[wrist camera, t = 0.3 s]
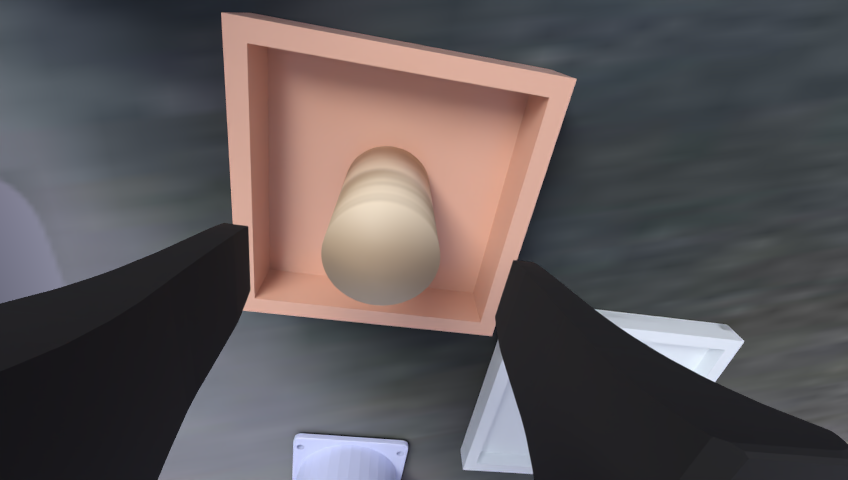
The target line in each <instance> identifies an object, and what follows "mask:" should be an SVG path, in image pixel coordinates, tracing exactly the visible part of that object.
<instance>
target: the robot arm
mask: <svg viewBox="0 0 848 480" xmlns="http://www.w3.org/2000/svg"><path fill="white" fill-rule="evenodd" d="M250 290H251V289H250V260H249V230H248V226H244V225H236V224H228V223H223V224H220V225H217V226H214V227H212V228H210V229H207V230H205V231H203V232H201V233H198V234H196V235H194V236H192V237H190V238H188V239H185V240H183V241H181V242H179V243H177V244H174V245H172V246H170V247H168V248H165V249H163V250H161V251H159V252H157V253H154V254H152V255H149V256H147V257H144V258H142V259H139V260H137V261H134V262H132V263H130V264H127V265H125V266H122V267H120V268H117V269H115V270H112V271H109V272H107V273H104V274H101V275H98V276H95V277H92V278H89V279H86V280H83V281H80V282H77V283H74V284H71V285H67V286H64V287H61V288H58V289H54V290H51V291H47V292H43V293H39V294H35V295H32V296H28V297H24V298H20V299H16V300H12V301H9V302H5V303H1V304H0V480H158V477H159V475H160V473H161V470H162V468H163V465H164V463H165V461H166V458H167V456H168V454H169V451H170V449H171V447H172V444H173V442H174V440H175V438H176V435H177V433H178V431H179V429H180V427H181V424H182V422H183V420H184V418H185V415H186V413H187V411H188V409H189V407H190V405H191V403H192V401H193V399H194V398H195V396H196V394H197V392H198V390H199V388H200V387H201V385H202V383H203V382H204V380H205V378H206V376H207V375H208V373H209V371H210V370H211V368H212V366H213V364H214V363H215V361H216V359H217V358H218V356H219V354H220V352H221V351H222V349H223V347H224V346H225V344H226V342H227V340H228V339H229V337H230V335H231V333H232V332H233V330H234V328H235V326H236V324H237V323H238V321H239V318H240V316H241V313H242V311H243V309H244V306H245V303H246V301H247V298H248V296H249V293H250ZM495 321H496V329H497V336H498V341H499V347H500V351H501V354H502V358H503V361H504V365H505V368H506V371H507V374H508V378H509V381H510V384H511V387H512V390H513V394H514V397H515V400H516V403H517V407H518V410H519V413H520V416H521V420H522V423H523V427H524V431H525V435H526V440H527V445H528V450H529V455H530V460H531V465H532V470H533V475H534V480H848V444H847V443H846V442H845V441H844V440H842V439H841V438H840V437H839V436H838V435H836V434H835V433H833V432H832V431H830V430H827V429H825V428H822V427H820V426H817V425H814V424H812V423H809V422H807V421H804V420H802V419H799V418H797V417H794V416H792V415H789V414H786V413H784V412H781V411H779V410H776V409H774V408H771V407H769V406H766V405H764V404H761V403H759V402H757V401H755V400H752V399H750V398H748V397H746V396H744V395H741V394H739V393H737V392H735V391H732V390H730V389H728V388H726V387H724V386H722V385H720V384H718V383H715V382H713V381H711V380H709V379H707V378H705V377H703V376H701V375H699V374H697V373H696V372H694V371H692V370H690V369H688V368H686V367H684V366H682V365H680V364H679V363H677V362H675V361H673V360H671V359H669V358H668V357H666V356H664V355H662V354H661V353H659V352H657V351H656V350H654V349H652V348H651V347H649V346H648V345H646V344H644V343H643V342H641V341H640V340H638V339H636V338H635V337H633V336H632V335H630V334H629V333H627V332H626V331H624V330H623V329H621V328H620V327H618V326H617V325H615V324H614V323H613V322H611V321H610V320H608V319H607V318H606V317H604V316H603V315H602V314H600V313H599V312H598V311H596V310H595V309H594V308H592V307H591V306H590V305H588V304H587V303H586V302H584V301H583V300H582V299H581V298H579V297H578V296H577V295H576V294H574V293H573V292H572V291H571V290H569V289H568V288H567V287H566V286H564V285H563V284H562V283H561V282H560V281H558V280H557V279H556V278H555V277H553V276H552V275H551V274H549V273H548V272H547V271H546V270H544V269H543V268H541V267H540V266H539V265H537V264H535V263H533V262H526V261H518V260H513V262H512V265H511V268H510V272H509V275H508V278H507V281H506V284H505V287H504V290H503V293H502V296H501V299H500V303H499V306H498V309H497V312H496V315H495ZM407 452H408V443H407V442H406V441H404V440H392V439H378V438H363V437H349V436H334V435H320V434H306V433H299V434H297V435H296V436H295V438H294V441H293V472H292V480H401V477H402V473H403V469H404V464H405V460H406V456H407Z"/></svg>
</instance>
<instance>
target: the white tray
mask: <svg viewBox="0 0 848 480" xmlns="http://www.w3.org/2000/svg"><path fill="white" fill-rule="evenodd" d="M595 310H596V311H598V312H599V313H600V314H602V315H603V316H604V317H606V318H607V319H608V320H610V321H611V322H613V323H614V324H615V325H617V326H618V327H620V328H621V329H623V330H624V331H626V332H627V333H629V334H630V335H632V336H633V337H635V338H636V339H638V340H640V341H641V342H643V343H644V344H646V345H648V346H649V347H651V348H652V349H654V350H656V351H657V352H659V353H661V354H662V355H664V356H666V357H668V358H669V359H671V360H673V361H675V362H677V363H679V364H680V365H682V366H684V367H686V368H688V369H690V370H692V371H694V372H696V373H697V374H699V375H701V376H703V377H705V378H707V379H709V380H711V381H713V382H716V380H717V379H718V377H719V376H720V375H721V373H722V372H723V370H724V369H725V368H726V366H727V365H728V363H729V362H730V361H731V359H732V358H733V357H734V355H735V354H736V352H737V351H738V350H739V348H740V347H741V345H742V344H743V343H744V340H743V339H742V338H740V337H739V336H738V335H737V334H736V333H735V332H734V331H733V330H732V329H731V328H730V327H729V326H728V325H727V324H719V323H710V322H701V321H693V320H684V319H675V318H666V317H658V316H649V315H640V314H632V313H623V312H614V311H606V310H597V309H595ZM460 451H461V458H462V466H463V470H476V471H492V472H508V473H524V474H533V470H532V465H531V460H530V455H529V450H528V445H527V440H526V435H525V431H524V427H523V423H522V420H521V416H520V413H519V410H518V407H517V403H516V400H515V397H514V394H513V390H512V387H511V384H510V381H509V378H508V374H507V371H506V368H505V365H504V361H503V358H502V354H501V351H500V347H499V341H497V344H496V347H495V350H494V353H493V356H492V359H491V362H490V364H489V367H488V370H487V373H486V376H485V379H484V382H483V385H482V388H481V391H480V394H479V397H478V400H477V403H476V406H475V409H474V411H473V414H472V417H471V420H470V423H469V426H468V429H467V432H466V435H465V438H464V441H463V444H462V447H461V450H460Z"/></svg>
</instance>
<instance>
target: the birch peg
mask: <svg viewBox="0 0 848 480" xmlns="http://www.w3.org/2000/svg"><path fill="white" fill-rule="evenodd" d="M321 258H322V264H323V267H324V270H325V272H326V274H327V276H328V278H329V279H330V281H331V282H332V283H333V285H334V286H335V287H336V288H337V289H338V290H340V291H341V292H342V293H344V294H345V295H346V296H348V297H350V298H352V299H354V300H356V301H359V302H362V303H366V304H371V305H381V306H383V305H394V304H399V303H402V302H405V301H408V300H410V299H412V298H414V297H416V296H417V295H419V294H420V293H422V292H423V291H424V290H425V289H426V288H427V287H428V286H429V285H430V284H431V282H432V281H433V279H434V278H435V276H436V274H437V271H438V268H439V264H440V248H439V242H438V235H437V229H436V222H435V216H434V210H433V203H432V197H431V191H430V184H429V178H428V175H427V172H426V170H425V168H424V166H423V165H422V163H421V162H420V161H419V160H418V159H417V158H416V157H415V156H414V155H412V154H411V153H410V152H408V151H406V150H404V149H401V148H397V147H393V146H380V147H375V148H372V149H369V150H367V151H365V152H364V153H362V154H361V155H359V156H358V157H357V158H356V159H355V160H354V161H353V163H352V164H351V166H350V168H349V170H348V172H347V175H346V178H345V181H344V183H343V186H342V189H341V192H340V195H339V198H338V200H337V203H336V206H335V209H334V212H333V214H332V217H331V220H330V223H329V226H328V229H327V231H326V234H325V237H324V240H323V243H322V250H321Z"/></svg>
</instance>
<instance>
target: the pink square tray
mask: <svg viewBox="0 0 848 480" xmlns="http://www.w3.org/2000/svg"><path fill="white" fill-rule="evenodd" d="M221 19H222V37H223V55H224V73H225V90H226V108H227V126H228V144H229V162H230V180H231V198H232V216H233V224H236V225H244V226H248V230H249V260H250V289H251V290H250V293H249V296H248V298H247V301H246V303H245V306H244V309H243V311H253V312H263V313H272V314H282V315H292V316H301V317H311V318H321V319H330V320H340V321H350V322H359V323H369V324H379V325H388V326H398V327H408V328H417V329H427V330H437V331H447V332H456V333H466V334H476V335H485V336H492V335H493V332H494V328H495V325H496V321H495V315H496V312H497V309H498V306H499V303H500V299H501V296H502V293H503V290H504V287H505V284H506V281H507V278H508V275H509V272H510V268H511V265H512V262H513V260H517V259H518V256H519V253H520V250H521V247H522V244H523V240H524V237H525V234H526V231H527V228H528V225H529V222H530V219H531V216H532V213H533V210H534V207H535V204H536V201H537V198H538V195H539V192H540V189H541V186H542V183H543V180H544V177H545V174H546V171H547V168H548V165H549V162H550V159H551V156H552V152H553V149H554V146H555V143H556V140H557V137H558V134H559V131H560V128H561V125H562V122H563V119H564V116H565V113H566V110H567V107H568V104H569V101H570V98H571V95H572V92H573V89H574V86H575V83H576V80H577V79H575V78H573V77H570V76H567V75H564V74H562V73H559V72H556V71H553V70H550V69H545V68H540V67H535V66H529V65H524V64H519V63H513V62H508V61H503V60H498V59H492V58H487V57H482V56H476V55H471V54H466V53H461V52H455V51H450V50H445V49H439V48H434V47H429V46H424V45H418V44H413V43H408V42H402V41H397V40H392V39H387V38H381V37H376V36H371V35H365V34H360V33H355V32H350V31H344V30H339V29H334V28H328V27H323V26H318V25H313V24H307V23H302V22H297V21H291V20H286V19H281V18H276V17H270V16H265V15H260V14H254V13H234V12H221ZM380 146H393V147H397V148H401V149H404V150H406V151H408V152H410V153H411V154H412V155H414V156H415V157H416V158H417V159H418V160H419V161H420V162H421V163H422V165H423V166H424V168H425V170H426V172H427V175H428V178H429V184H430V191H431V197H432V203H433V210H434V216H435V222H436V229H437V235H438V242H439V248H440V264H439V268H438V271H437V274H436V276H435V278H434V279H433V281H432V282H431V284H430V285H429V286H428V287H427V288H426V289H425V290H424V291H423V292H422V293H420V294H419V295H417V296H416V297H414V298H412V299H410V300H408V301H405V302H402V303H399V304H394V305H383V306H381V305H371V304H366V303H362V302H359V301H356V300H354V299H352V298H350V297H348V296H346V295H345V294H344V293H342V292H341V291H340V290H338V289H337V288H336V287H335V286H334V285H333V283H332V282H331V281H330V279H329V278H328V276H327V274H326V272H325V270H324V267H323V264H322V258H321V250H322V243H323V240H324V237H325V234H326V231H327V229H328V226H329V223H330V220H331V217H332V214H333V212H334V209H335V206H336V203H337V200H338V198H339V195H340V192H341V189H342V186H343V183H344V181H345V178H346V175H347V172H348V170H349V168H350V166H351V164H352V163H353V161H354V160H355V159H356V158H357V157H358V156H359V155H361V154H362V153H364V152H365V151H367V150H369V149H372V148H375V147H380Z"/></svg>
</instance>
